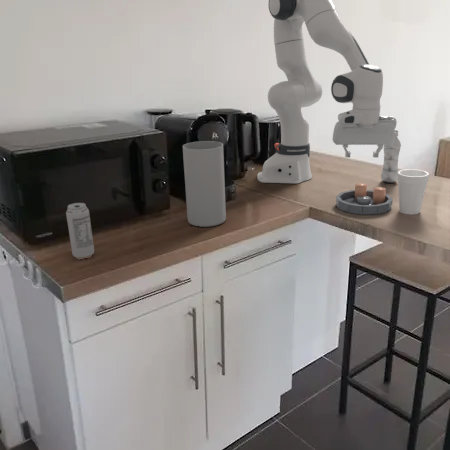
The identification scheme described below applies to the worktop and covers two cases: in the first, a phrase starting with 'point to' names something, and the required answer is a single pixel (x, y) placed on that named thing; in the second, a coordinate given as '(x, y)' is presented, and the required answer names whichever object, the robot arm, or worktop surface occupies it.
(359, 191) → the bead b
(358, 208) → the tray
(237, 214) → the worktop surface
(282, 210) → the worktop surface
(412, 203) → the foam cup
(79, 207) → the energy drink can
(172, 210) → the worktop surface
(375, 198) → the peach egg shape
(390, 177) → the plastic bottle
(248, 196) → the worktop surface
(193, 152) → the cylinder vase
